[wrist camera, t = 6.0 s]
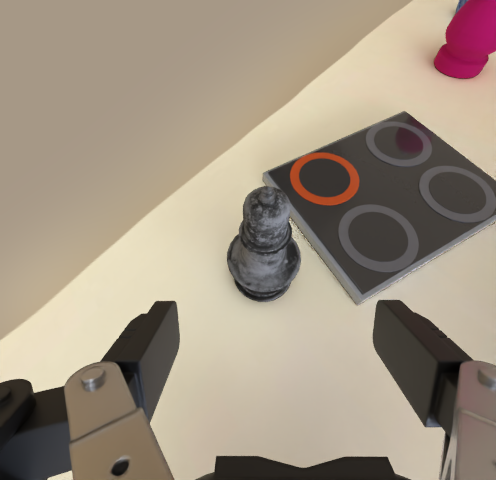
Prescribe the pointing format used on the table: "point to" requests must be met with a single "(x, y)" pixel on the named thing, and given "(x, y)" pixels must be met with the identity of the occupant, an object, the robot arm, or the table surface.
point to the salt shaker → (264, 246)
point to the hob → (385, 202)
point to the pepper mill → (468, 40)
